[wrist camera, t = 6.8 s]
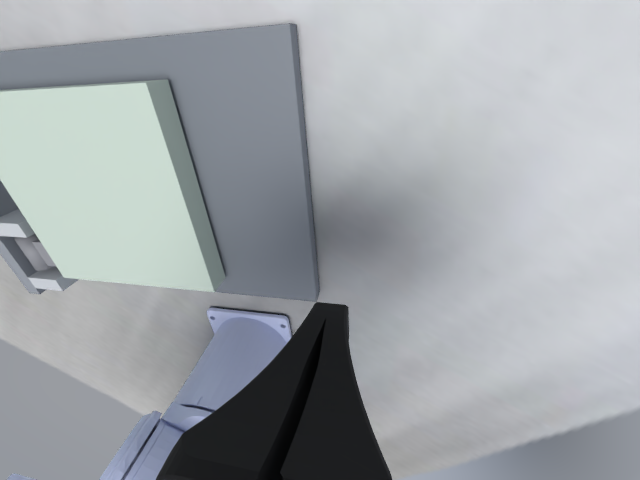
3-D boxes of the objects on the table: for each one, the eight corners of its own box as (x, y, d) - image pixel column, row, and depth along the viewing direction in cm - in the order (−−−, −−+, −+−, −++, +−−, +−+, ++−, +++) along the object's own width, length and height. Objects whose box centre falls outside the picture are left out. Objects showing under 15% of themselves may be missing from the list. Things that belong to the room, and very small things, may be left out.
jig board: (319, 291, 25) (309, 324, 22) (65, 268, 30) (29, 292, 28) (296, 24, 16) (273, 20, 13) (-68, 59, 21) (-144, 62, 18)
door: (225, 277, 24) (214, 292, 23) (52, 262, 28) (33, 274, 26) (167, 79, 17) (145, 82, 15) (-58, 93, 20) (-94, 97, 19)
